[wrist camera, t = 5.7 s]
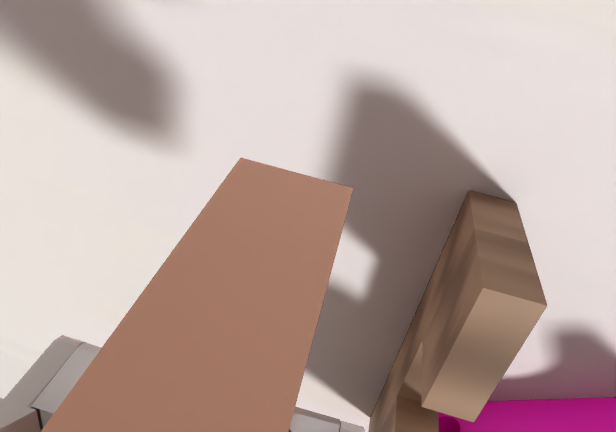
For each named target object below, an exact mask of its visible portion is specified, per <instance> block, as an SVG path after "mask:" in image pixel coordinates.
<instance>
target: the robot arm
mask: <svg viewBox="0 0 616 432" xmlns="http://www.w3.org/2000/svg"><path fill="white" fill-rule="evenodd" d="M100 350H101V347H98V346H95V345H91V344H88V343H86V342H83V341H80V340H76V339H73V338H70V337H66V336H63V335H62V336H60V337H59V338H57V339H56V340H54V341H53V342H52V343H51V345H50V346H49V347H48V348H47V349H46V350H45V352H44V353H43V354H42V355H41V356H40V357H39V359H38V360H37V361H36V362H35V363H34V364H33V366H32V367H31V368H30V369H29V370H28V371H27V373H26V374H25V375H24V376H23V377H22V378H21V379H20V381H19V382H18V383H17V384H16V385H15V386H14V388H13V389H12V390H11V391H10V392H9V393H8V395H7V396H6V397H5V398H4V399H2V398H0V432H41V431H42V429H43V428H44V426H45V425H46V424H47V422H48V421H49V420H50V418H51V417H52V415H53V414H54V413H55V411H56V410H57V409H58V407H59V406H60V405H61V403H62V402H63V400H64V399H65V398H66V396H67V395H68V394H69V392H70V391H71V389H72V388H73V387H74V385H75V384H76V383H77V381H78V380H79V378H80V377H81V376H82V374H83V373H84V372H85V370H86V369H87V368H88V366H89V365H90V363H91V362H92V361H93V359H94V358H95V357H96V355H97V354H98V352H99V351H100ZM288 432H365V430H364V427H361V426H358V425H354V424H351V423H347V422H344V421H340V419H336V418H333V417H329V416H326V415H322V414H319V413H316V412H312V411H309V410H305V409H302V408H298V407H295V408H294V412H293V416H292V420H291V423H290V427H289V431H288Z"/></svg>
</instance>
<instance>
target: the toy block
mask: <svg viewBox="0 0 616 432" xmlns="http://www.w3.org/2000/svg"><path fill="white" fill-rule="evenodd" d="M438 425H439V432H616V397H606V398H575V399H543V400H512V401H487V402H486V404H485V406H484V407H483V409H482V410H481V412H480V413H479V415H478V417H477V418H476V420H475V421H474V422H471V421H467V420H464V419H461V418H457V417H454V416H451V415H447V414H444V413H441V412H438Z"/></svg>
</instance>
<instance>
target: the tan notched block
mask: <svg viewBox="0 0 616 432" xmlns="http://www.w3.org/2000/svg"><path fill="white" fill-rule="evenodd" d="M352 192H353V188H351V187H347V186H344V185H340V184H336V183H333V182H329V181H325V180H321V179H318V178H314V177H310V176H307V175H303V174H299V173H296V172H292V171H288V170H284V169H281V168H277V167H273V166H270V165H266V164H262V163H259V162H255V161H251V160H247V159H244V158H240V159H239V161H238V162H237V163H236V165H235V166H234V167H233V169H232V170H231V172H230V173H229V174H228V176H227V177H226V178H225V180H224V181H223V183H222V184H221V185H220V187H219V188H218V189H217V191H216V192H215V193H214V195H213V196H212V198H211V199H210V200H209V202H208V203H207V204H206V206H205V207H204V209H203V210H202V211H201V213H200V214H199V215H198V217H197V218H196V220H195V221H194V222H193V224H192V225H191V226H190V228H189V229H188V230H187V232H186V233H185V235H184V236H183V237H182V239H181V240H180V241H179V243H178V244H177V246H176V247H175V248H174V250H173V251H172V252H171V254H170V255H169V257H168V258H167V259H166V261H165V262H164V263H163V265H162V266H161V267H160V269H159V270H158V272H157V273H156V274H155V276H154V277H153V278H152V280H151V281H150V283H149V284H148V285H147V287H146V288H145V289H144V291H143V292H142V294H141V295H140V296H139V298H138V299H137V300H136V302H135V303H134V304H133V306H132V307H131V309H130V310H129V311H128V313H127V314H126V315H125V317H124V318H123V320H122V321H121V322H120V324H119V325H118V326H117V328H116V329H115V331H114V332H113V333H112V335H111V336H110V337H109V339H108V340H107V341H106V343H105V344H104V346H103V347H102V348H101V350H100V351H99V352H98V354H97V355H96V357H95V358H94V359H93V361H92V362H91V363H90V365H89V366H88V368H87V369H86V370H85V372H84V373H83V374H82V376H81V377H80V378H79V380H78V381H77V383H76V384H75V385H74V387H73V388H72V389H71V391H70V392H69V394H68V395H67V396H66V398H65V399H64V400H63V402H62V403H61V405H60V406H59V407H58V409H57V410H56V411H55V413H54V414H53V415H52V417H51V418H50V420H49V421H48V422H47V424H46V425H45V426H44V428H43V429H42V431H41V432H288V431H289V427H290V423H291V420H292V416H293V412H294V408H295V405H296V401H297V397H298V393H299V390H300V386H301V382H302V379H303V375H304V371H305V367H306V364H307V360H308V356H309V352H310V349H311V345H312V341H313V337H314V334H315V330H316V326H317V323H318V319H319V315H320V311H321V308H322V304H323V300H324V296H325V293H326V289H327V285H328V282H329V278H330V274H331V270H332V267H333V263H334V259H335V255H336V252H337V248H338V244H339V240H340V237H341V233H342V229H343V226H344V222H345V218H346V214H347V211H348V207H349V203H350V199H351V196H352Z"/></svg>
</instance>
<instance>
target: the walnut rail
mask: <svg viewBox="0 0 616 432" xmlns="http://www.w3.org/2000/svg"><path fill="white" fill-rule="evenodd" d="M546 307H547V303H546V300H545V296H544V293H543V290H542V286H541V283H540V280H539V276H538V273H537V270H536V267H535V263H534V260H533V257H532V253H531V250H530V247H529V243H528V240H527V237H526V233H525V230H524V227H523V224H522V220H521V217H520V214H519V210H518V207H517V204H516V203H515V202H511V201H507V200H503V199H500V198H496V197H492V196H488V195H485V194H481V193H477V192H474V191H470V190H469V191H468V193H467V195H466V198H465V200H464V202H463V205H462V207H461V209H460V212H459V214H458V216H457V219H456V221H455V223H454V225H453V228H452V230H451V232H450V235H449V237H448V239H447V242H446V244H445V246H444V249H443V251H442V253H441V256H440V258H439V260H438V262H437V265H436V267H435V269H434V272H433V274H432V276H431V279H430V281H429V283H428V286H427V288H426V290H425V293H424V295H423V297H422V299H421V302H420V304H419V306H418V309H417V311H416V313H415V316H414V318H413V320H412V323H411V325H410V327H409V330H408V332H407V334H406V336H405V339H404V341H403V343H402V346H401V348H400V350H399V353H398V355H397V357H396V360H395V362H394V364H393V367H392V369H391V371H390V373H389V376H388V378H387V380H386V383H385V385H384V387H383V390H382V392H381V394H380V397H379V399H378V401H377V404H376V406H375V408H374V410H373V413H372V415H371V417H370V424H369V432H439V425H438V412H441V413H444V414H447V415H451V416H454V417H457V418H461V419H464V420H467V421H471V422H474V421H475V420H476V418H477V417H478V415H479V413H480V412H481V410H482V409H483V407H484V406H485V404H486V402H487V401H488V399H489V398H490V396H491V394H492V393H493V391H494V390H495V388H496V386H497V385H498V383H499V382H500V380H501V379H502V377H503V375H504V374H505V372H506V371H507V369H508V367H509V366H510V364H511V363H512V361H513V359H514V358H515V356H516V355H517V353H518V352H519V350H520V348H521V347H522V345H523V344H524V342H525V340H526V339H527V337H528V336H529V334H530V332H531V331H532V329H533V328H534V326H535V325H536V323H537V321H538V320H539V318H540V317H541V315H542V313H543V312H544V310H545V309H546Z"/></svg>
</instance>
